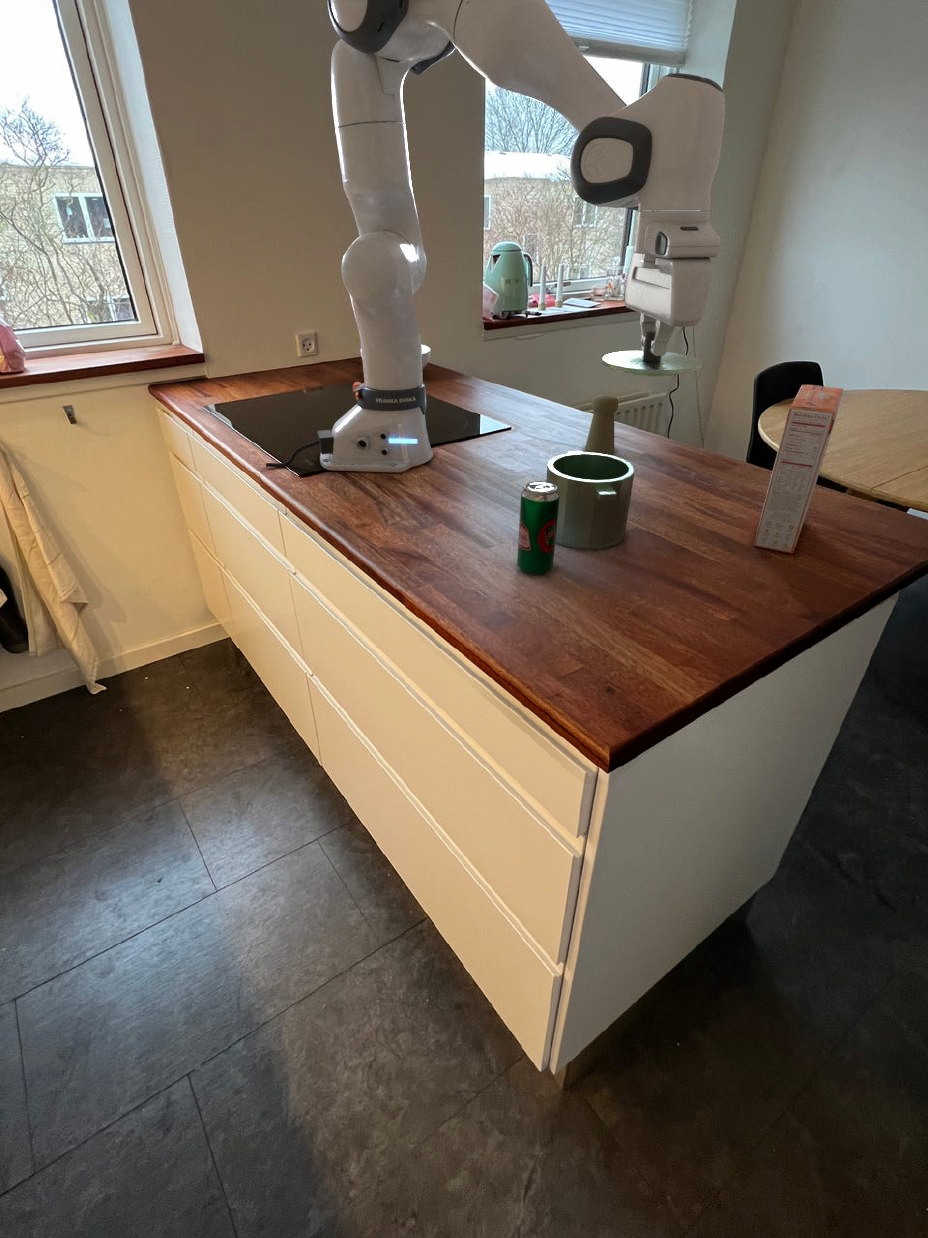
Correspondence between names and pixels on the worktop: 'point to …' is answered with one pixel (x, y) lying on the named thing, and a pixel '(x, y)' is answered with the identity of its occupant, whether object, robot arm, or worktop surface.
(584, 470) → the pot
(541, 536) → the soda can
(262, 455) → the worktop surface
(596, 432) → the beige pestle
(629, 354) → the lid
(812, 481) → the cracker box
